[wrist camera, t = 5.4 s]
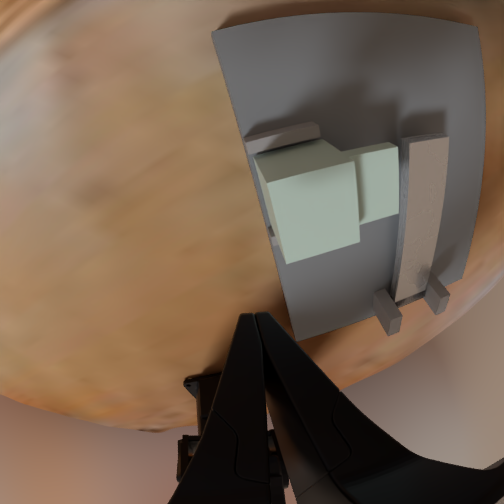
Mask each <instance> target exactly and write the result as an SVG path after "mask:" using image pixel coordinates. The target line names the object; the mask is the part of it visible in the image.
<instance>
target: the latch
mask: <svg viewBox="0 0 504 504" xmlns="http://www.w3.org/2000/svg"><path fill="white" fill-rule="evenodd" d="M253 159H254V162H255V166H256V170H257V173H258V177H259V181H260V185H261V189H262V192H263V196H264V200H265V204H266V208H267V212H268V215H269V219H270V223H271V226H272V229H273V231H274V234H275V236H276V239H277V241H278V244H279V247H280V249H281V252H282V254H283V257H284V259H285V262H286V264H289V263H292V262H296V261H299V260H302V259H306V258H309V257H312V256H316V255H319V254H322V253H326V252H329V251H332V250H336V249H339V248H342V247H345V246H349V245H352V244H355V243H358V242H360V230H359V225H361V224H364V223H368V222H371V221H375V220H378V219H381V218H385V217H388V216H391V215H395V214H398V213H399V161H398V147H397V146H395V145H394V144H392V143H390V142H386V143H381V144H376V145H371V146H366V147H361V148H356V149H351V150H347V151H342V152H341V151H340V150H338V149H337V148H335V147H334V146H332V145H331V144H329V143H328V142H326V141H325V140H323V139H320V140H315V141H311V142H307V143H302V144H298V145H294V146H290V147H286V148H282V149H278V150H274V151H270V152H267V153H263V154H259V155H256V156H253Z"/></svg>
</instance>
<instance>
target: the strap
mask: <svg viewBox="0 0 504 504" xmlns="http://www.w3.org/2000/svg"><path fill="white" fill-rule="evenodd" d="M448 151H449V137H448V136H447V135H445V134H443V133H441V132H438V133H431V134H424V135H418V136H412V137H406V138H401V191H400V211H399V225H398V237H397V247H396V256H395V264H394V272H393V279H392V286H391V292H390V297H391V298H392V300H393V301H394V303H395V304H396V306H397V308H399V307H402V306H404V305H407V304H409V303H411V302H414V301H416V300H419V299H421V298H423V297H425V295H426V291H425V289H426V285H427V282H428V278H429V274H430V270H431V266H432V261H433V257H434V252H435V248H436V243H437V238H438V232H439V227H440V221H441V215H442V208H443V202H444V194H445V186H446V176H447V165H448Z"/></svg>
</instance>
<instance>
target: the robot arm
mask: <svg viewBox="0 0 504 504" xmlns="http://www.w3.org/2000/svg"><path fill="white" fill-rule="evenodd" d="M183 385H184V387H185V388H186V389H187V390H188V391H189V392H190V393H191V394H192V395H193V396H194V397H195V398H196V402H197V421H198V436H189V435H183V439H181V440H178V464H177V477H176V478H177V481H178V482H179V485H178V487H177V489H176V490H175V492H174V494H173V496H172V497H171V499H170V501H169V502H168V504H286V502H285V494H284V489H285V488H288V485H289V479H290V482H291V485H292V489H293V492H294V494H295V497H296V501H297V504H504V458H502V459H501V460H499V461H497V462H496V463H494V464H492V465H491V466H489V467H487V468H485V469H483V470H481V469H474V468H467V467H463V466H458V465H453V464H448V463H444V462H440V461H436V460H432V459H428V458H424V457H422V456H419V455H417V454H415V453H413V452H411V451H410V450H408V449H407V448H405V447H404V446H403V445H401V444H400V443H399V442H398V441H396V440H395V439H394V438H392V437H391V436H390V435H389V434H387V433H386V432H385V431H384V430H382V429H381V428H380V427H379V426H377V425H376V424H375V423H374V422H373V421H371V420H370V419H369V418H368V417H367V416H366V415H364V414H363V413H362V412H361V411H360V410H359V409H358V408H357V407H356V406H355V405H354V404H353V403H352V402H351V401H350V400H349V399H348V398H347V397H346V396H345V395H344V394H343V393H342V392H339V388H338V387H337V386H336V385H335V384H334V383H333V382H332V381H331V380H330V379H329V378H328V377H327V376H326V374H325V373H324V372H323V371H322V370H321V369H320V368H319V367H318V366H317V365H316V364H315V363H314V361H313V360H312V359H311V358H310V357H309V356H308V355H307V354H306V353H305V352H304V350H303V349H302V348H301V347H300V346H299V345H298V344H297V343H296V342H295V341H294V339H293V338H292V337H291V336H290V335H289V334H288V333H287V332H286V331H285V329H284V328H283V327H282V326H281V325H280V324H279V323H278V322H277V320H276V319H275V318H274V317H273V316H272V315H271V314H270V313H269V312H267V311H266V312H256V313H255V314H254V313H243V314H240V316H239V319H238V322H237V325H236V329H235V332H234V335H233V338H232V342H231V345H230V348H229V352H228V355H227V358H226V361H225V365H224V368H223V371H222V373H219V374H214V375H209V376H204V377H199V378H194V379H189V380H185V381H184V382H183ZM266 403H267V407H268V410H269V414H270V417H271V420H272V424H273V427H274V429H271V430H269V431H268V430H267V411H266ZM193 454H194V455H193Z"/></svg>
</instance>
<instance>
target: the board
mask: <svg viewBox="0 0 504 504" xmlns="http://www.w3.org/2000/svg"><path fill="white" fill-rule="evenodd" d="M211 36H212V40H213V43H214V46H215V49H216V53H217V56H218V59H219V63H220V66H221V69H222V73H223V76H224V79H225V83H226V86H227V89H228V93H229V96H230V100H231V103H232V106H233V110H234V113H235V117H236V120H237V124H238V127H239V131H240V134H241V138H242V141H243V145H244V148H245V152H246V155H247V159H248V162H249V166H250V170H251V173H252V177H253V180H254V184H255V188H256V191H257V195H258V199H259V202H260V206H261V210H262V213H263V217H264V221H265V225H266V228H267V232H268V236H269V240H270V243H271V247H272V251H273V255H274V259H275V263H276V266H277V270H278V274H279V278H280V282H281V286H282V290H283V294H284V298H285V301H286V305H287V309H288V313H289V317H290V321H291V325H292V329H293V332H294V336H295V339H296V342H298V341H301V340H304V339H308V338H311V337H314V336H317V335H320V334H324V333H327V332H330V331H333V330H336V329H339V328H342V327H344V326H347V325H350V324H353V323H356V322H359V321H362V320H364V319H367V318H370V317H372V316H375V315H376V316H377V318H378V319H379V321H380V323H381V325H382V327H383V328H384V330H385V332H386V334H387V336H390V335H393V334H395V333H397V332H399V330H400V325H401V321H402V316H403V315H402V314H401V312H400V311H399V309H398V308H397V306H396V304H395V303H394V301H393V300H392V298H391V297H390V292H391V286H392V279H393V272H394V264H395V256H396V247H397V237H398V225H399V213H398V214H395V215H391V216H388V217H385V218H381V219H378V220H375V221H371V222H368V223H364V224H361V225H359V230H360V242H358V243H355V244H352V245H349V246H345V247H342V248H339V249H336V250H332V251H329V252H326V253H322V254H319V255H316V256H312V257H309V258H306V259H302V260H299V261H296V262H292V263H289V264H286V262H285V259H284V257H283V254H282V252H281V249H280V247H279V244H278V241H277V239H276V236H275V234H274V231H273V229H272V226H271V223H270V219H269V215H268V212H267V208H266V204H265V200H264V196H263V192H262V189H261V185H260V181H259V177H258V173H257V170H256V166H255V162H254V159H253V156H256V155H259V154H263V153H267V152H270V151H274V150H278V149H282V148H286V147H290V146H294V145H298V144H302V143H307V142H311V141H315V140H320V139H323V140H325V141H326V142H328V143H329V144H331V145H332V146H334V147H335V148H337V149H338V150H340V151H341V152H342V151H347V150H351V149H356V148H361V147H366V146H371V145H376V144H381V143H386V142H390V143H392V144H394V145H395V146H397V147H398V161H399V211H400V191H401V138H406V137H412V136H418V135H424V134H431V133H438V132H441V133H443V134H445V135H447V136H448V137H449V151H448V165H447V176H446V186H445V194H444V202H443V208H442V215H441V221H440V227H439V232H438V238H437V243H436V248H435V252H434V257H433V261H432V266H431V270H430V274H429V278H428V282H427V285H426V289H425V291H426V295H425V297H423V298H424V300H425V301H426V302H427V304H428V305H429V307H430V308H431V309H432V311H433V312H434V314H435V315H438V314H440V313H442V312H444V311H445V309H446V306H447V303H448V300H449V297H450V293H449V292H448V291H447V290H446V288H445V286H447V285H449V284H451V283H453V282H456V281H458V280H460V279H462V276H463V273H464V269H465V266H466V262H467V258H468V254H469V250H470V246H471V242H472V237H473V232H474V227H475V222H476V217H477V211H478V205H479V199H480V192H481V184H482V176H483V166H484V153H485V132H486V103H485V82H484V70H483V60H482V52H481V45H480V39H479V33H478V27H476V26H472V25H468V24H463V23H458V22H454V21H448V20H443V19H437V18H431V17H423V16H415V15H406V14H394V13H376V12H338V13H319V14H307V15H297V16H289V17H281V18H274V19H268V20H262V21H256V22H251V23H246V24H241V25H237V26H232V27H228V28H224V29H220V30H216V31H212V33H211Z"/></svg>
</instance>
